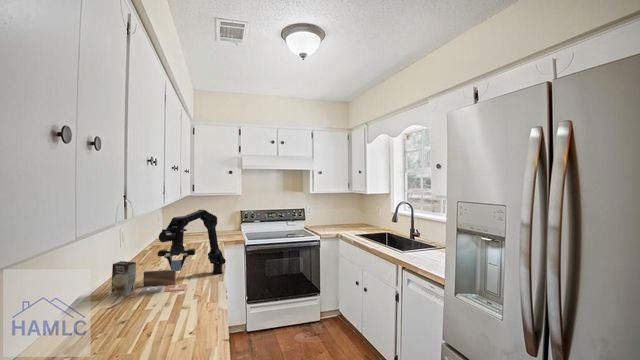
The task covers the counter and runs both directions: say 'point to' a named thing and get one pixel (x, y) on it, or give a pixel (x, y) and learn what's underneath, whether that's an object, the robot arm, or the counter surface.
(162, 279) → the walnut screen
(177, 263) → the letter cube
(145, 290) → the grey pad
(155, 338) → the counter surface
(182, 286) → the terracotta pad
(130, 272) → the coffee box
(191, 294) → the counter surface
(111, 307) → the counter surface
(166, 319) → the counter surface
